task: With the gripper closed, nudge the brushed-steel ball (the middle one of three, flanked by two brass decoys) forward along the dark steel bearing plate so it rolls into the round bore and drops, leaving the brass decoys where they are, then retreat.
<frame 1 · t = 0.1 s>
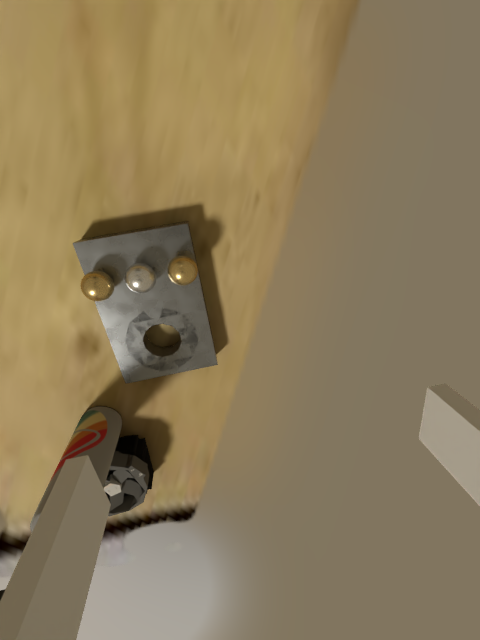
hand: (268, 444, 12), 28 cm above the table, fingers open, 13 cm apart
bearing plate: (156, 303, 38), on the table
steel ball: (140, 278, 32), point 4 cm above the table, touching bearing plate
cpu cooler: (120, 458, 47), on the table
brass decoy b: (182, 270, 32), point 4 cm above the table, touching bearing plate
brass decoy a: (97, 286, 32), point 4 cm above the table, touching bearing plate
lotion bottle: (102, 420, 44), on the table
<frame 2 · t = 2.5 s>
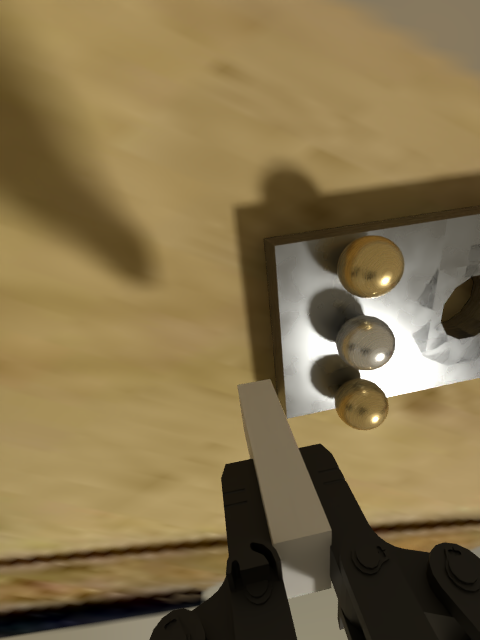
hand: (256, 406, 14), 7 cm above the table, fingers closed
bearing plate: (393, 304, 22), on the table
steel ball: (364, 342, 17), point 4 cm above the table, touching bearing plate
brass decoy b: (369, 267, 16), point 4 cm above the table, touching bearing plate
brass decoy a: (360, 403, 19), point 4 cm above the table, touching bearing plate
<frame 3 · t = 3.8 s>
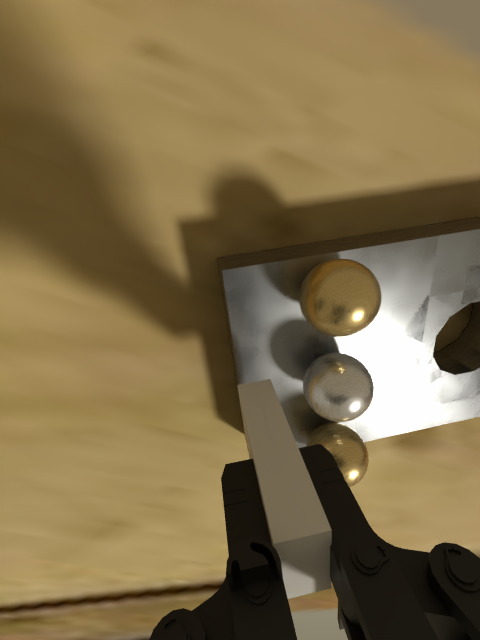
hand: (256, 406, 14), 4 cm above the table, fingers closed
bearing plate: (377, 332, 18), on the table
steel ball: (337, 386, 14), point 4 cm above the table, touching bearing plate
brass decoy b: (338, 298, 12), point 4 cm above the table, touching bearing plate
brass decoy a: (336, 454, 16), point 4 cm above the table, touching bearing plate
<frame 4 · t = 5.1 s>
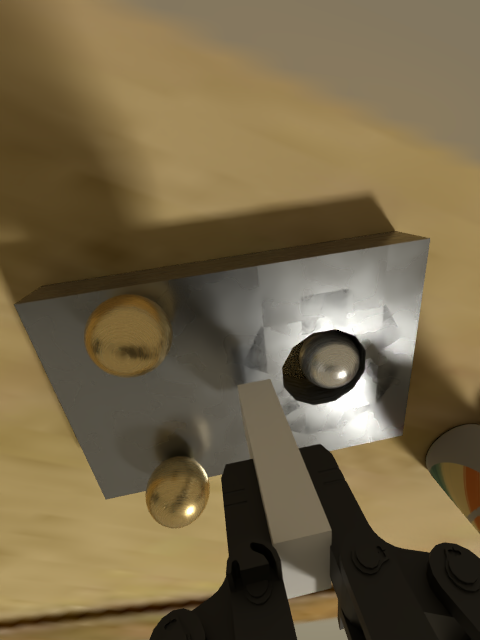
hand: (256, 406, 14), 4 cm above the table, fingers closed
bearing plate: (241, 358, 18), on the table
steel ball: (328, 358, 17), point 2 cm above the table, tilted 9°
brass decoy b: (130, 335, 12), point 4 cm above the table, touching bearing plate
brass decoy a: (178, 490, 15), point 4 cm above the table, touching bearing plate
lotion bottle: (454, 447, 24), on the table
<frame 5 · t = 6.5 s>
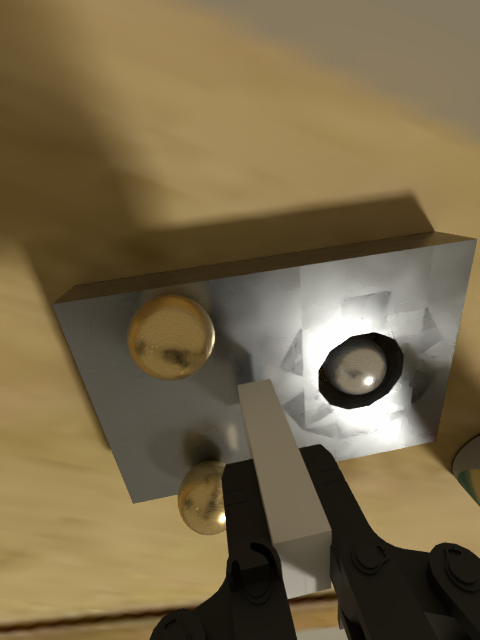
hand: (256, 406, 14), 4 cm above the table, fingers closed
bearing plate: (272, 361, 17), on the table
steel ball: (353, 363, 16), point 2 cm above the table, tilted 29°
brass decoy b: (172, 337, 11), point 4 cm above the table, touching bearing plate
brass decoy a: (210, 495, 15), point 4 cm above the table, touching bearing plate
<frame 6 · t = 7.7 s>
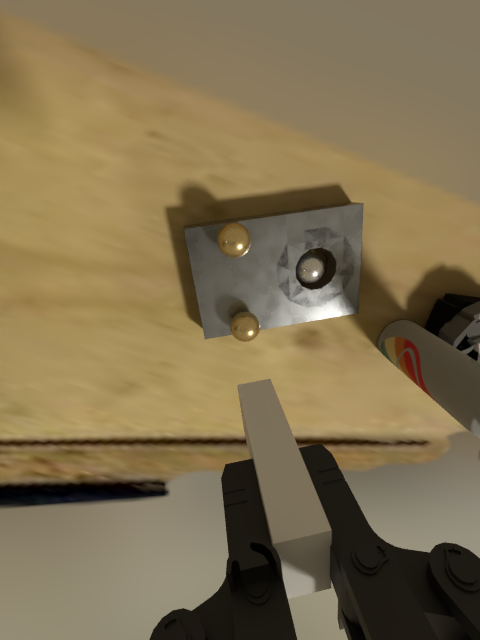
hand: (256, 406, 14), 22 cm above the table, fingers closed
bearing plate: (274, 269, 34), on the table
steel ball: (309, 268, 33), point 2 cm above the table, tilted 46°
cpu cooler: (452, 326, 41), on the table
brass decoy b: (234, 240, 28), point 4 cm above the table, touching bearing plate
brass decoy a: (245, 326, 32), point 4 cm above the table, touching bearing plate
lotion bottle: (396, 337, 40), on the table
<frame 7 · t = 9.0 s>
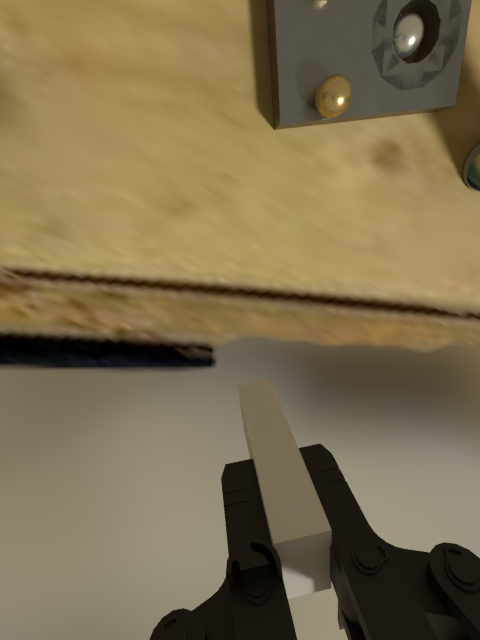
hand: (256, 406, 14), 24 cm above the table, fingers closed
bearing plate: (360, 47, 29), on the table
steel ball: (403, 37, 28), point 2 cm above the table, tilted 52°
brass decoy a: (333, 96, 27), point 4 cm above the table, touching bearing plate
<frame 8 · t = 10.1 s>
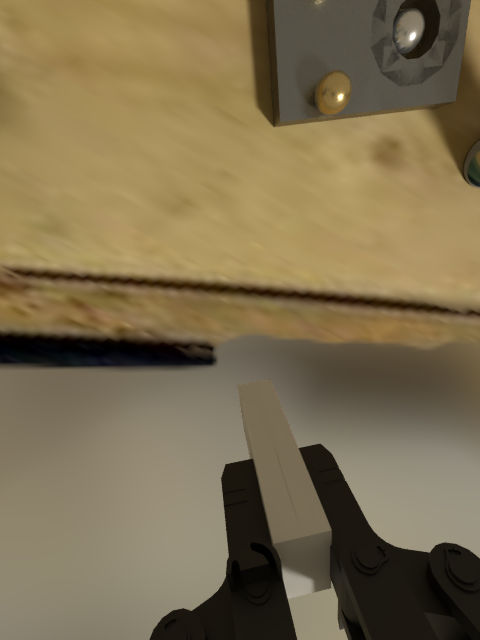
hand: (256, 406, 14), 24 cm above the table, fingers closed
bearing plate: (360, 43, 29), on the table
steel ball: (404, 32, 28), point 2 cm above the table, tilted 49°
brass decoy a: (333, 93, 27), point 4 cm above the table, touching bearing plate
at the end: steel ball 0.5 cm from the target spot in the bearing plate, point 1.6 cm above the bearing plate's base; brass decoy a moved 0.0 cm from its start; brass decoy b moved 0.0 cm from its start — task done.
